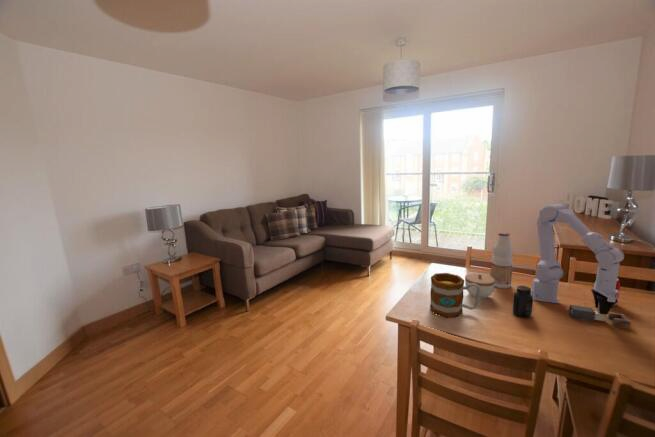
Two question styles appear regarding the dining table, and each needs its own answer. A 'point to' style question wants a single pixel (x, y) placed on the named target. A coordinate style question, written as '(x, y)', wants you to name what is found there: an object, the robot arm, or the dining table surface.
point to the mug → (449, 295)
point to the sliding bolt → (598, 315)
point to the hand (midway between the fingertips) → (601, 310)
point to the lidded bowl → (480, 284)
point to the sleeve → (582, 313)
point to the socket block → (619, 320)
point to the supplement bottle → (523, 302)
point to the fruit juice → (502, 261)
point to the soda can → (617, 289)
